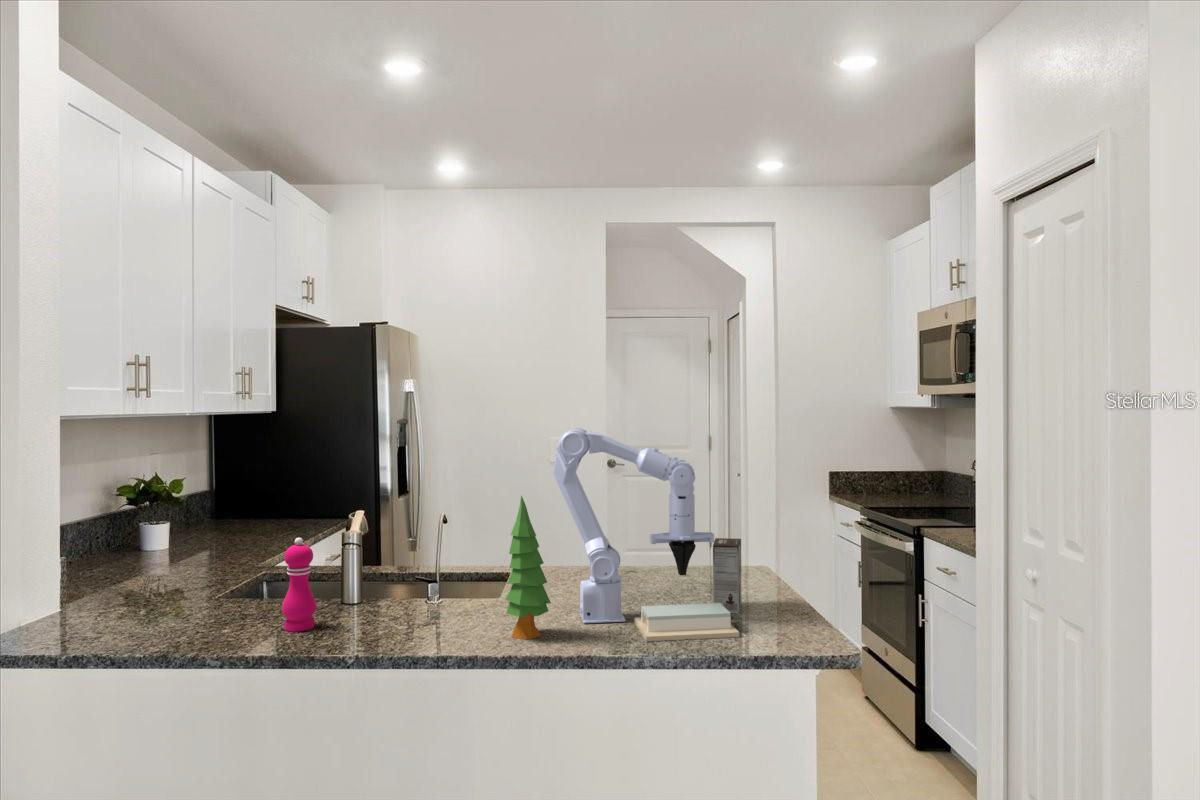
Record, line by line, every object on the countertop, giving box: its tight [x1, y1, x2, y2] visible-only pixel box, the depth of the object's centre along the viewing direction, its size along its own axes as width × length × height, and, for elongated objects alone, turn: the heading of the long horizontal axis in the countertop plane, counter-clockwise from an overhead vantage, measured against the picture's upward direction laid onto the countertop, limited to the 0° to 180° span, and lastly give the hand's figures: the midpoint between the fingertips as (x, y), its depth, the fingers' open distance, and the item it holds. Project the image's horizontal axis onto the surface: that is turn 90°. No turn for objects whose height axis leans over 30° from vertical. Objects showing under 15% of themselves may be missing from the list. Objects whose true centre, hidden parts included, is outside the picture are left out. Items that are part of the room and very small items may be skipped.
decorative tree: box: [505, 494, 551, 640], centre depth 173 cm, size 10×9×30 cm
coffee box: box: [712, 537, 742, 615], centre depth 194 cm, size 9×6×16 cm
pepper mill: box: [281, 537, 318, 633], centre depth 179 cm, size 7×7×20 cm
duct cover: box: [640, 602, 732, 620], centre depth 177 cm, size 18×8×1 cm, turn 98°
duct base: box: [633, 610, 740, 642], centre depth 177 cm, size 20×14×4 cm
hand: (682, 574), depth 184 cm, fingers closed
